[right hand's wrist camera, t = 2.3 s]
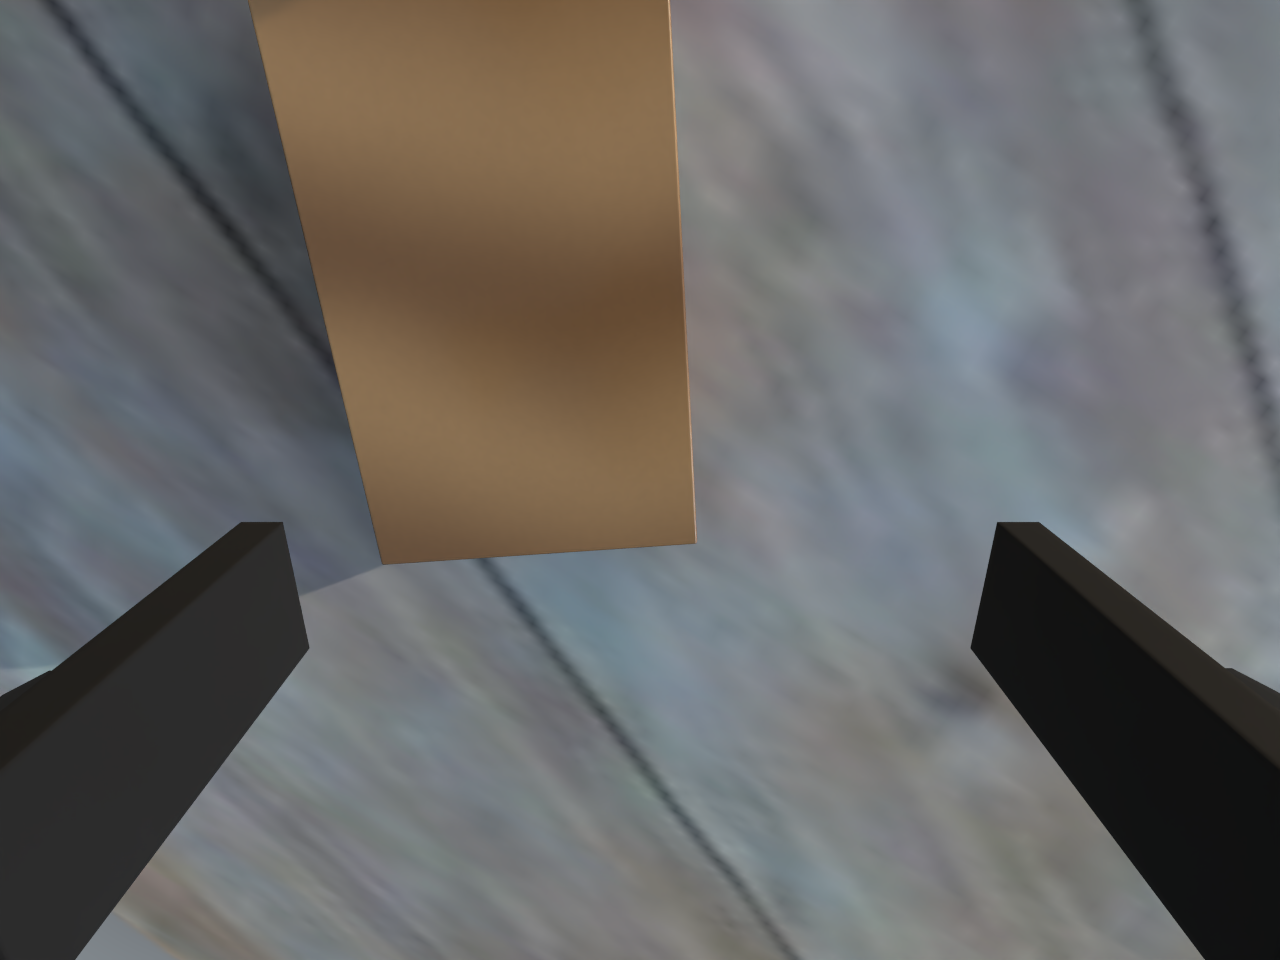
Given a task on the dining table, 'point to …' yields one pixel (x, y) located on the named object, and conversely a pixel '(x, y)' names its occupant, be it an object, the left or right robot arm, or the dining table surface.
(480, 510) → the cabinet
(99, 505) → the dining table surface
